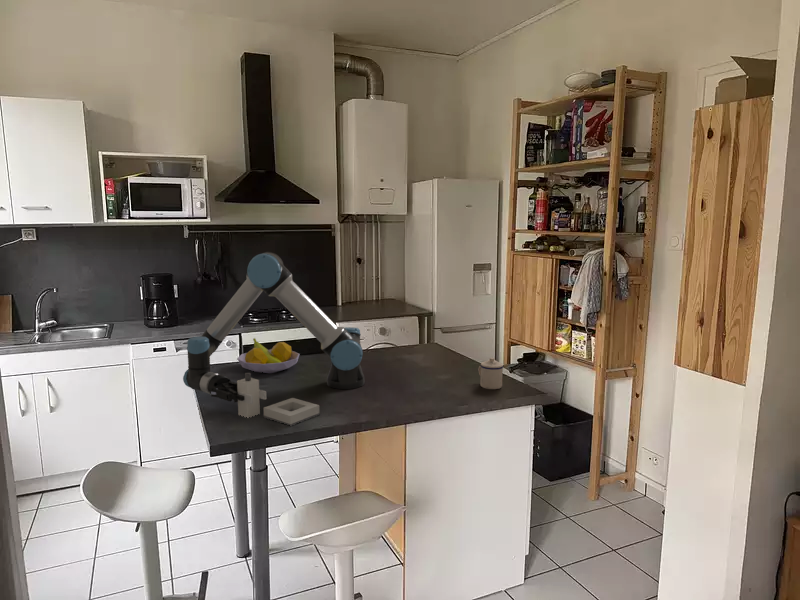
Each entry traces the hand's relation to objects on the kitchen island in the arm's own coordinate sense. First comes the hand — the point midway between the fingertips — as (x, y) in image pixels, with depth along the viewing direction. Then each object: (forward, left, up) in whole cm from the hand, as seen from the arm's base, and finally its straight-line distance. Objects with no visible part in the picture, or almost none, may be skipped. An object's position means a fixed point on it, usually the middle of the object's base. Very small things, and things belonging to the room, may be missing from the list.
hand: (258, 397), depth 182 cm
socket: (-9, -1, -7) cm, 12 cm away
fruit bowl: (-4, -62, -7) cm, 63 cm away
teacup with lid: (-90, -18, -7) cm, 92 cm away
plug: (+3, -4, -7) cm, 9 cm away
